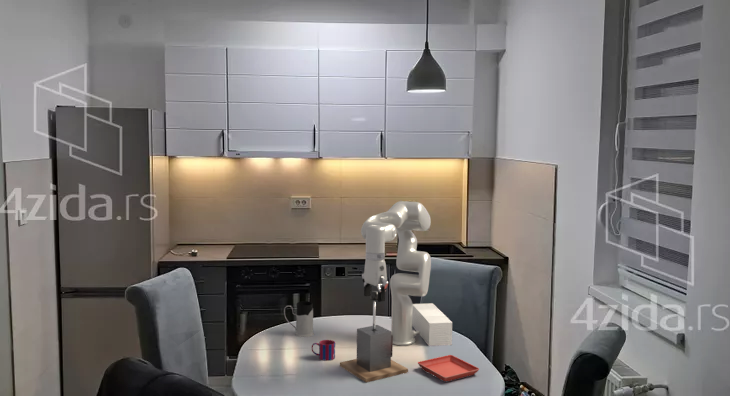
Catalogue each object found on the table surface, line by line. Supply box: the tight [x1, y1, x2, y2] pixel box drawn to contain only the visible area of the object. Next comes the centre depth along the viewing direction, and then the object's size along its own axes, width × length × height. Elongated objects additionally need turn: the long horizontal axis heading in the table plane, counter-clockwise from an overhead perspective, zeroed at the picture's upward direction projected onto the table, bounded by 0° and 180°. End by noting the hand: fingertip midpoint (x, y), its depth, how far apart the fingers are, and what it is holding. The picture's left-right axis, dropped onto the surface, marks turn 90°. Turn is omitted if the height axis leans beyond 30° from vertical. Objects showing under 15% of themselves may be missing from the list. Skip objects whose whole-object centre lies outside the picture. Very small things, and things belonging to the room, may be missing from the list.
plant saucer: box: [417, 354, 480, 383], centre depth 251 cm, size 18×18×3 cm
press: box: [356, 324, 394, 372], centre depth 253 cm, size 13×10×15 cm
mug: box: [311, 339, 336, 362], centre depth 266 cm, size 7×10×7 cm
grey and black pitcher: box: [283, 300, 315, 338], centre depth 295 cm, size 9×14×15 cm, turn 89°
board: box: [339, 358, 409, 383], centre depth 253 cm, size 20×20×2 cm
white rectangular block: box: [412, 302, 453, 347], centre depth 298 cm, size 32×11×11 cm, turn 10°
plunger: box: [370, 290, 379, 331], centre depth 251 cm, size 8×8×21 cm
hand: (374, 298), depth 250 cm, fingers open, 9 cm apart
